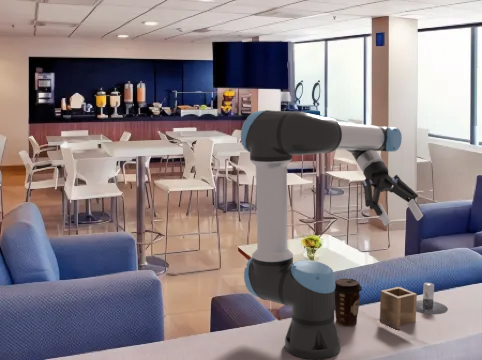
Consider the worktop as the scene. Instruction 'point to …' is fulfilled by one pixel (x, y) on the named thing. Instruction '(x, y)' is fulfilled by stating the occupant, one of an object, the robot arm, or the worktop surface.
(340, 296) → the coffee cup
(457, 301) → the worktop surface
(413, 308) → the sleeve
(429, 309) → the post stand
